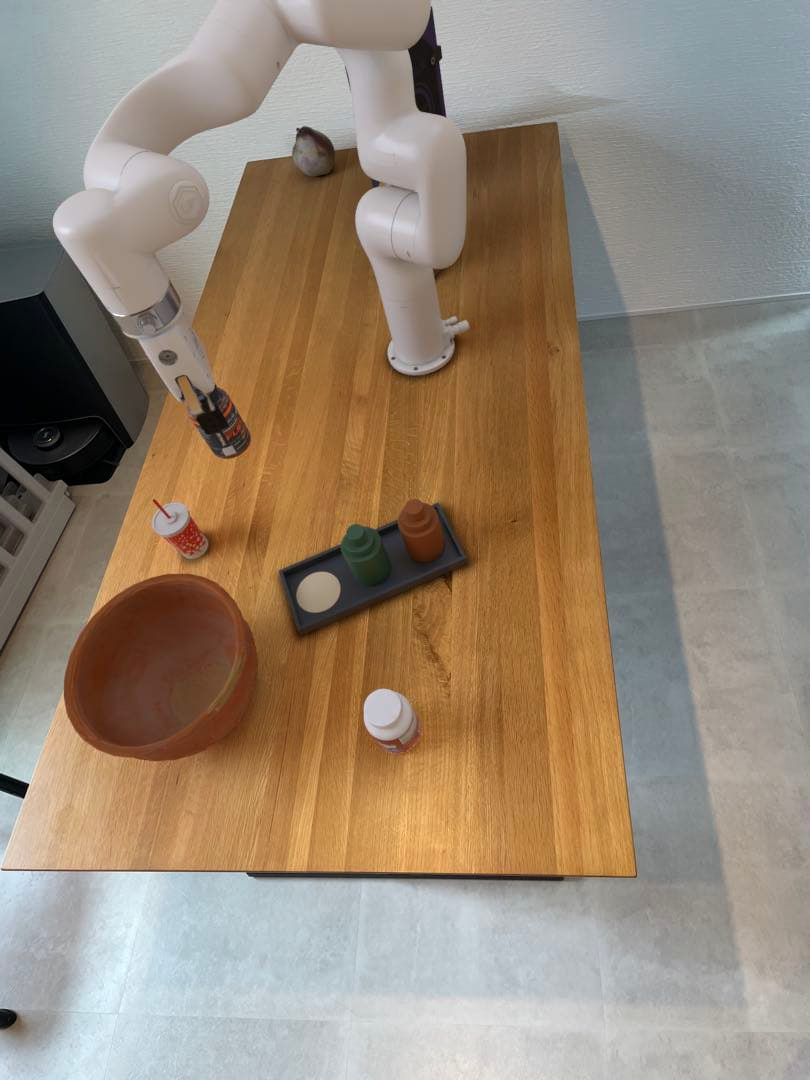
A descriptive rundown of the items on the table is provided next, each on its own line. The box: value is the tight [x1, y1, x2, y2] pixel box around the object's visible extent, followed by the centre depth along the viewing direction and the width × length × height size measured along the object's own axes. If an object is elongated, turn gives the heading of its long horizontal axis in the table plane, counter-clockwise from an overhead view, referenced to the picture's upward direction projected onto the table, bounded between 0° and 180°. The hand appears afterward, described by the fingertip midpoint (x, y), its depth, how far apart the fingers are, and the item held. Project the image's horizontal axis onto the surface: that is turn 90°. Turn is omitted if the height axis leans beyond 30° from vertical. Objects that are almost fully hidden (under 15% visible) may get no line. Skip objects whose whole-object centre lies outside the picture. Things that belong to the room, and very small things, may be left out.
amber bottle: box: [397, 498, 445, 563], centre depth 100 cm, size 6×6×11 cm
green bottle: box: [340, 523, 391, 586], centre depth 100 cm, size 6×6×11 cm
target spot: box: [296, 572, 341, 613], centre depth 104 cm, size 7×7×1 cm
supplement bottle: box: [186, 386, 252, 460], centre depth 92 cm, size 6×6×11 cm
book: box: [344, 5, 447, 189], centre depth 143 cm, size 24×6×30 cm, turn 147°
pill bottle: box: [363, 688, 422, 755], centre depth 87 cm, size 6×6×11 cm
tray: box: [278, 502, 469, 637], centre depth 104 cm, size 27×11×2 cm, turn 111°
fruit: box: [291, 125, 336, 178], centre depth 161 cm, size 10×9×12 cm
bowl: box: [63, 573, 259, 762], centre depth 93 cm, size 25×25×15 cm
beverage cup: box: [151, 498, 209, 560], centre depth 108 cm, size 6×6×14 cm
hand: (212, 411), depth 91 cm, fingers closed on supplement bottle, 6 cm apart
